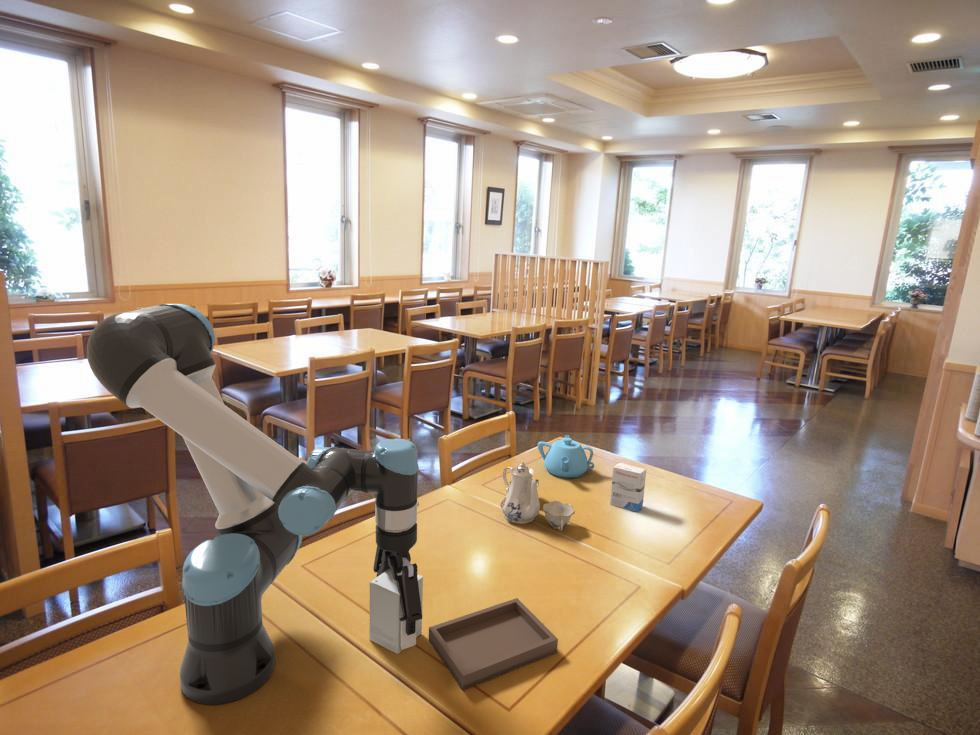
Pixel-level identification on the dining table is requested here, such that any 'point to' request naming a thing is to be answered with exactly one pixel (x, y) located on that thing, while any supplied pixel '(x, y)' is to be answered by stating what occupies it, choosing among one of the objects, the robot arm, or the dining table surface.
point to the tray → (491, 642)
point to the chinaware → (530, 500)
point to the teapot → (566, 458)
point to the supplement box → (388, 611)
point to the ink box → (628, 487)
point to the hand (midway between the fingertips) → (396, 627)
